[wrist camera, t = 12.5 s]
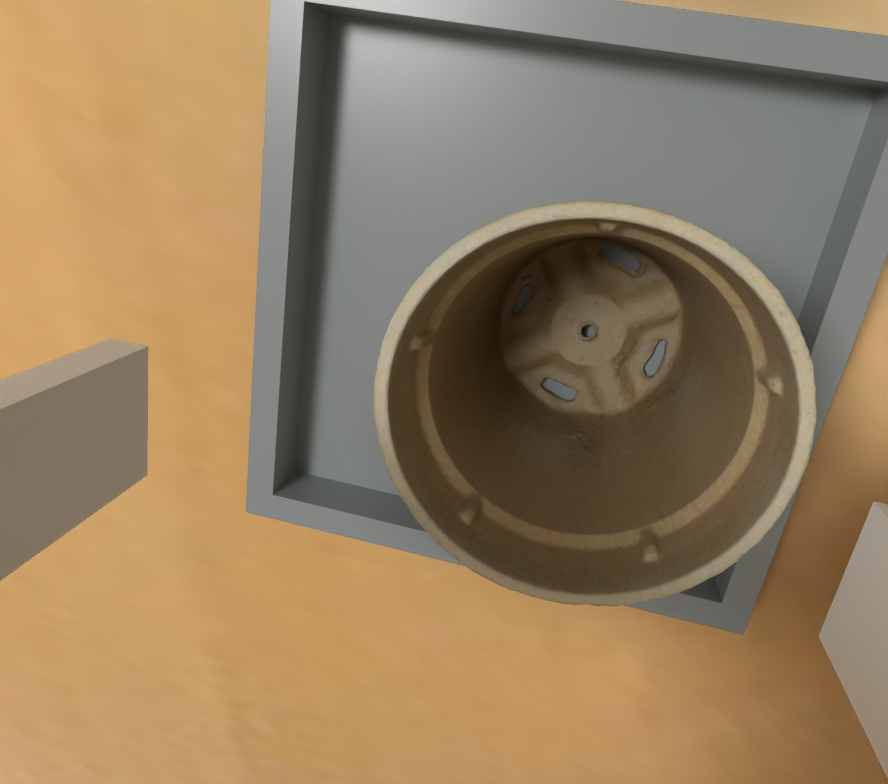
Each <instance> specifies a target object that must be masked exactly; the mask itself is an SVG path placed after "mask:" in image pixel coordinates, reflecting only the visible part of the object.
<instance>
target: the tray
mask: <svg viewBox="0 0 888 784" xmlns="http://www.w3.org/2000/svg"><path fill="white" fill-rule="evenodd" d="M574 201H605V202H618V203H625V204H631V205H636V206H641V207H646V208H650V209H654V210H658V211H663V212H666V213H669V214H671V215H674V216H677V217H679V218H682V219H684V220H687V221H689V222H691V223H694V224H696V225H698V226H700V227H702V228H703V229H705V230H707V231H709V232H711V233H712V234H714V235H716V236H717V237H719V238H720V239H722V240H723V241H725V242H727V243H728V244H730V245H731V246H733V247H734V248H736V249H737V250H738V251H739V252H740V253H742V254H743V255H744V256H745V257H747V258H748V259H749V260H750V261H751V262H752V263H753V264H754V265H755V266H756V267H757V268H759V269H760V270H761V271H762V273H763V274H764V275H765V276H766V277H767V278H768V279H769V280H770V281H771V282H772V284H773V285H774V286H775V288H776V289H777V290H779V292H780V293H781V295H782V297H783V298H784V300H785V302H786V304H787V305H788V307H789V309H790V310H791V312H792V313H793V315H794V317H795V319H796V321H797V323H798V325H799V326H800V329H801V333H802V335H803V337H804V339H805V342H806V345H807V347H808V350H809V356H810V359H811V361H812V364H813V372H814V380H815V385H816V411H817V413H816V425H815V431H814V439H813V444H812V449H811V453H810V457H809V460H808V464H809V461H810V458H811V456H812V453H813V450H814V448H815V445H816V442H817V440H818V437H819V435H820V432H821V429H822V427H823V424H824V421H825V419H826V416H827V413H828V411H829V408H830V405H831V403H832V400H833V398H834V395H835V392H836V390H837V387H838V384H839V382H840V379H841V376H842V374H843V371H844V369H845V366H846V363H847V361H848V358H849V355H850V353H851V350H852V347H853V345H854V342H855V340H856V337H857V334H858V332H859V329H860V326H861V324H862V321H863V318H864V316H865V313H866V310H867V308H868V305H869V303H870V300H871V297H872V295H873V292H874V289H875V287H876V284H877V281H878V279H879V276H880V274H881V271H882V268H883V266H884V263H885V260H886V258H887V255H888V36H885V35H878V34H870V33H862V32H854V31H847V30H839V29H831V28H824V27H816V26H808V25H800V24H793V23H785V22H777V21H770V20H762V19H754V18H746V17H739V16H731V15H723V14H715V13H708V12H700V11H692V10H685V9H677V8H669V7H661V6H654V5H646V4H638V3H631V2H623V1H615V0H271V3H270V24H269V45H268V65H267V86H266V106H265V127H264V148H263V168H262V189H261V210H260V230H259V251H258V272H257V292H256V313H255V334H254V354H253V375H252V395H251V416H250V437H249V457H248V478H247V499H246V512H248V513H252V514H256V515H260V516H264V517H268V518H272V519H276V520H280V521H284V522H288V523H292V524H296V525H300V526H305V527H309V528H313V529H317V530H321V531H325V532H329V533H333V534H337V535H341V536H345V537H349V538H353V539H357V540H361V541H365V542H369V543H373V544H378V545H382V546H386V547H390V548H394V549H398V550H402V551H406V552H410V553H414V554H418V555H422V556H426V557H430V558H434V559H438V560H442V561H447V562H451V563H455V564H459V565H463V566H465V565H464V564H462V563H460V562H459V561H458V560H457V559H456V558H455V557H453V556H451V555H450V554H449V553H448V552H446V551H445V550H444V549H443V548H442V547H441V546H440V545H438V544H437V543H436V542H435V541H434V540H433V539H432V537H431V536H430V535H429V534H428V533H427V532H426V531H425V530H424V529H423V527H422V526H421V525H420V524H419V523H418V522H417V520H416V519H415V517H414V516H413V515H412V514H411V513H410V511H409V509H408V507H407V506H406V505H405V503H404V502H403V500H402V498H401V497H400V495H399V494H398V492H397V490H396V488H395V486H394V484H393V482H392V481H391V477H390V475H389V472H388V469H387V466H386V464H385V463H384V460H383V456H382V453H381V450H380V446H379V442H378V436H377V429H376V427H375V417H374V406H373V399H374V383H375V375H376V371H377V362H378V359H379V356H380V349H381V347H382V342H383V340H384V337H385V334H386V332H387V330H388V327H389V324H390V321H391V319H392V317H393V315H394V314H395V312H396V310H397V309H398V307H399V305H400V303H401V302H402V300H403V298H404V297H405V295H406V294H407V292H408V291H409V289H410V288H411V287H412V286H413V285H414V283H415V282H416V280H417V279H418V278H419V277H420V276H421V275H422V274H423V273H424V271H425V270H426V269H427V268H428V267H429V266H430V265H431V264H432V263H433V262H434V261H435V260H436V259H437V258H438V257H439V256H441V255H442V254H443V253H444V252H445V251H446V250H447V249H449V248H450V247H451V246H452V245H454V244H455V243H457V242H459V241H460V240H461V239H463V238H464V237H466V236H467V235H469V234H471V233H472V232H474V231H476V230H477V229H479V228H481V227H483V226H485V225H487V224H489V223H491V222H493V221H495V220H497V219H499V218H502V217H504V216H507V215H510V214H513V213H516V212H519V211H522V210H526V209H529V208H532V207H537V206H542V205H547V204H554V203H564V202H574ZM601 255H602V258H604V259H608V260H610V261H613V262H616V263H618V264H620V265H623V266H625V267H627V268H630V269H632V270H633V271H636V270H637V269H638V268H639V266H640V263H639V260H638V259H637V258H636V257H635V256H634V255H633V254H632V253H630V252H626V251H624V250H622V249H620V248H615V247H606V248H604V249H603V250H602V253H601ZM531 289H532V285H527V286H525V287H524V288H523V289H522V291H521V292H520V295H519V297H518V300H517V302H516V304H515V308H514V310H513V313H514V314H521V311H522V309H523V308H524V305H526V303H528V304H530V301H529V300H528V296H529V294H530V291H531ZM594 333H595V330H594V327H593V326H592V325H585V326H584V327H583V328H582V335H583V336H584V337H591V336H593V335H594ZM665 344H666V341H665V340H660V341H658V343H657V344H656V346H655V348H654V351H653V353H652V355H651V357H650V358H649V359H648V360H647V362H646V363H645V365H644V366H643V371H644V374H645V375H646V376H651V375H653V374H654V373H655V372H656V370H657V369H658V366H659V364H660V362H661V360H662V357H663V355H664V351H665V349H664V347H665ZM541 385H542V386H543V387H544V388H545V390H548V391H551V392H552V393H553V394H555V395H556V396H558V397H559V398H561V399H564V400H571V399H573V398H574V397H575V393H576V390H575V389H574V388H573V389H571V388H570V387H567V386H565V385H563V384H561V383H559V382H556V381H554V380H552V379H549V378H546V379H544V381H543V382H542V383H541ZM808 464H807V466H808ZM807 466H806V469H807ZM806 469H805V471H806ZM805 471H804V474H805ZM804 474H803V476H802V478H801V481H800V483H799V484H798V486H797V488H796V491H795V493H794V495H793V496H792V498H791V500H790V501H789V503H788V505H787V507H786V508H785V510H784V512H783V513H782V515H781V516H780V517H779V519H778V520H777V521H776V522H775V523H774V525H773V527H772V528H771V529H770V530H769V531H768V532H767V533H766V534H765V535H764V537H763V538H762V540H761V541H760V542H759V543H758V544H756V545H755V546H754V547H752V548H751V549H749V550H748V551H747V552H746V553H745V555H743V556H742V557H741V558H739V560H738V561H737V562H735V563H734V564H733V565H731V566H730V567H728V568H727V569H726V570H724V571H723V572H721V573H720V574H718V575H716V576H713V577H711V578H709V579H707V580H705V581H704V582H702V583H700V584H698V585H696V586H694V587H692V588H690V589H686V590H684V591H682V592H680V593H676V594H673V595H671V596H667V597H664V598H659V599H656V600H649V601H647V602H642V603H638V604H632V605H625V606H629V607H633V608H637V609H641V610H645V611H649V612H653V613H657V614H662V615H666V616H670V617H674V618H678V619H682V620H686V621H690V622H694V623H698V624H702V625H706V626H710V627H714V628H718V629H722V630H726V631H731V632H735V633H739V634H743V635H744V632H745V630H746V627H747V625H748V622H749V619H750V617H751V614H752V611H753V609H754V606H755V603H756V601H757V598H758V595H759V593H760V590H761V588H762V585H763V582H764V580H765V577H766V574H767V572H768V569H769V566H770V564H771V561H772V559H773V556H774V553H775V551H776V548H777V545H778V543H779V540H780V537H781V535H782V532H783V530H784V527H785V524H786V522H787V519H788V516H789V514H790V511H791V508H792V506H793V503H794V500H795V498H796V495H797V493H798V490H799V487H800V485H801V482H802V479H803V477H804Z"/></svg>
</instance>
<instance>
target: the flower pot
mask: <svg viewBox="0 0 888 784" xmlns="http://www.w3.org/2000/svg"><path fill="white" fill-rule="evenodd" d="M606 247H615V248H620V249H622V250H624V251H626V252H630V253H632V254H633V255H634V256H635V257H636V258H637V259H638V260H639V263H640V266H639V268H638V269H637V270H636V271H633V270H632V269H630V268H627V267H625V266H623V265H620V264H618V263H616V262H613V261H610V260H608V259H604V258H602V255H601V253H602V250H603V249H604V248H606ZM527 285H532V289H531V291H530V294H529V296H528V300H529V301H530V304H528V303H526V305H524V308H523V309H522V311H521V314H514V313H513V310H514V308H515V304H516V302H517V300H518V297H519V295H520V292H521V291H522V289H523V288H524V287H525V286H527ZM585 325H592V326H593V327H594V330H595V333H594V335H593V336H591V337H584V336H583V335H582V328H583V327H584V326H585ZM660 340H665V341H666V344H665V347H664V349H665V351H664V355H663V357H662V360H661V362H660V364H659V366H658V369H657V370H656V372H655V373H654V374H653V375H651V376H646V375H645V374H644V371H643V366H644V365H645V363H646V362H647V360H648V359H649V358H650V357H651V355H652V353H653V351H654V348H655V346H656V344H657V343H658V341H660ZM546 378H549V379H552V380H554V381H556V382H559V383H561V384H563V385H565V386H567V387H570V388H571V389H573V388H574V389H575V390H576V393H575V397H574V398H573V399H571V400H564V399H561V398H559V397H558V396H556V395H555V394H553V393H552V392H551V391H548V390H545V388H544V387H543V386H542V385H541V383H542V382H543V381H544V379H546ZM373 406H374V417H375V427H376V429H377V436H378V442H379V446H380V450H381V453H382V456H383V460H384V463H385V464H386V466H387V469H388V472H389V475H390V477H391V481H392V482H393V484H394V486H395V488H396V490H397V492H398V494H399V495H400V497H401V498H402V500H403V502H404V503H405V505H406V506H407V507H408V509H409V511H410V513H411V514H412V515H413V516H414V517H415V519H416V520H417V522H418V523H419V524H420V525H421V526H422V527H423V529H424V530H425V531H426V532H427V533H428V534H429V535H430V536H431V537H432V539H433V540H434V541H435V542H436V543H437V544H438V545H440V546H441V547H442V548H443V549H444V550H445V551H446V552H448V553H449V554H450V555H451V556H453V557H455V558H456V559H457V560H458V561H459V562H460V563H462V564H464V565H465V566H467V567H468V568H469V569H471V570H472V571H473V572H475V573H477V574H479V575H481V576H482V577H484V578H487V579H488V580H490V581H492V582H494V583H497V584H499V585H501V586H503V587H506V588H508V589H511V590H514V591H518V592H520V593H523V594H526V595H529V596H532V597H536V598H540V599H544V600H548V601H553V602H557V603H563V604H574V605H578V604H589V605H595V606H619V605H632V604H638V603H642V602H647V601H649V600H656V599H659V598H664V597H667V596H671V595H673V594H676V593H680V592H682V591H684V590H686V589H690V588H692V587H694V586H696V585H698V584H700V583H702V582H704V581H705V580H707V579H709V578H711V577H713V576H716V575H718V574H720V573H721V572H723V571H724V570H726V569H727V568H728V567H730V566H731V565H733V564H734V563H735V562H737V561H738V560H739V558H741V557H742V556H743V555H745V553H746V552H747V551H748V550H749V549H751V548H752V547H754V546H755V545H756V544H758V543H759V542H760V541H761V540H762V538H763V537H764V535H765V534H766V533H767V532H768V531H769V530H770V529H771V528H772V527H773V525H774V523H775V522H776V521H777V520H778V519H779V517H780V516H781V515H782V513H783V512H784V510H785V508H786V507H787V505H788V503H789V501H790V500H791V498H792V496H793V495H794V493H795V491H796V488H797V486H798V484H799V483H800V481H801V478H802V476H803V474H804V471H805V469H806V466H807V464H808V460H809V457H810V453H811V449H812V444H813V439H814V431H815V425H816V413H817V411H816V385H815V380H814V372H813V364H812V361H811V359H810V356H809V350H808V347H807V345H806V342H805V339H804V337H803V335H802V333H801V329H800V326H799V325H798V323H797V321H796V319H795V317H794V315H793V313H792V312H791V310H790V309H789V307H788V305H787V304H786V302H785V300H784V298H783V297H782V295H781V293H780V292H779V290H777V289H776V288H775V286H774V285H773V284H772V282H771V281H770V280H769V279H768V278H767V277H766V276H765V275H764V274H763V273H762V271H761V270H760V269H759V268H757V267H756V266H755V265H754V264H753V263H752V262H751V261H750V260H749V259H748V258H747V257H745V256H744V255H743V254H742V253H740V252H739V251H738V250H737V249H736V248H734V247H733V246H731V245H730V244H728V243H727V242H725V241H723V240H722V239H720V238H719V237H717V236H716V235H714V234H712V233H711V232H709V231H707V230H705V229H703V228H702V227H700V226H698V225H696V224H694V223H691V222H689V221H687V220H684V219H682V218H679V217H677V216H674V215H671V214H669V213H666V212H663V211H658V210H654V209H650V208H646V207H641V206H636V205H631V204H625V203H618V202H605V201H574V202H564V203H554V204H547V205H542V206H537V207H532V208H529V209H526V210H522V211H519V212H516V213H513V214H510V215H507V216H504V217H502V218H499V219H497V220H495V221H493V222H491V223H489V224H487V225H485V226H483V227H481V228H479V229H477V230H476V231H474V232H472V233H471V234H469V235H467V236H466V237H464V238H463V239H461V240H460V241H459V242H457V243H455V244H454V245H452V246H451V247H450V248H449V249H447V250H446V251H445V252H444V253H443V254H442V255H441V256H439V257H438V258H437V259H436V260H435V261H434V262H433V263H432V264H431V265H430V266H429V267H428V268H427V269H426V270H425V271H424V273H423V274H422V275H421V276H420V277H419V278H418V279H417V280H416V282H415V283H414V285H413V286H412V287H411V288H410V289H409V291H408V292H407V294H406V295H405V297H404V298H403V300H402V302H401V303H400V305H399V307H398V309H397V310H396V312H395V314H394V315H393V317H392V319H391V321H390V324H389V327H388V330H387V332H386V334H385V337H384V340H383V342H382V347H381V349H380V356H379V359H378V362H377V371H376V375H375V383H374V399H373Z"/></svg>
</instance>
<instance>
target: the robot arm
mask: <svg viewBox="0 0 888 784" xmlns="http://www.w3.org/2000/svg"><path fill="white" fill-rule="evenodd" d="M147 440H148V346H144V345H140V344H135V343H130V342H126V341H121V340H116V339H112V338H111V339H109V340H106V341H103V342H101V343H98V344H95V345H93V346H90V347H87V348H85V349H82V350H79V351H77V352H74V353H71V354H69V355H66V356H63V357H61V358H58V359H56V360H53V361H50V362H48V363H45V364H42V365H40V366H37V367H34V368H32V369H29V370H26V371H24V372H21V373H18V374H16V375H13V376H10V377H8V378H5V379H2V380H0V581H1V580H2V579H3V578H5V577H6V576H8V575H9V574H10V573H12V572H13V571H15V570H16V569H17V568H19V567H20V566H22V565H23V564H24V563H26V562H27V561H28V560H30V559H31V558H33V557H34V556H35V555H37V554H38V553H40V552H41V551H42V550H44V549H45V548H47V547H48V546H49V545H51V544H52V543H54V542H55V541H56V540H58V539H59V538H60V537H62V536H63V535H65V534H66V533H67V532H69V531H70V530H72V529H73V528H74V527H76V526H77V525H79V524H80V523H81V522H83V521H84V520H86V519H87V518H88V517H90V516H91V515H92V514H94V513H95V512H97V511H98V510H99V509H101V508H102V507H104V506H105V505H106V504H108V503H109V502H111V501H112V500H113V499H115V498H116V497H118V496H119V495H120V494H122V493H123V492H124V491H126V490H127V489H129V488H130V487H131V486H133V485H134V484H136V483H137V482H138V481H140V480H141V479H143V478H144V477H145V476H147ZM818 637H819V639H820V641H821V643H822V645H823V647H824V649H825V651H826V653H827V655H828V657H829V659H830V661H831V663H832V665H833V667H834V669H835V671H836V674H837V676H838V678H839V680H840V682H841V684H842V686H843V688H844V690H845V692H846V694H847V696H848V698H849V700H850V702H851V704H852V706H853V709H854V711H855V713H856V715H857V717H858V719H859V721H860V723H861V725H862V727H863V729H864V731H865V733H866V735H867V737H868V739H869V741H870V744H871V746H872V748H873V750H874V752H875V754H876V756H877V758H878V760H879V762H880V764H881V766H882V768H883V770H884V772H885V774H886V776H887V778H888V504H884V503H879V502H873V504H872V507H871V509H870V512H869V514H868V517H867V519H866V521H865V524H864V526H863V529H862V531H861V534H860V536H859V538H858V541H857V543H856V546H855V548H854V551H853V553H852V555H851V558H850V560H849V563H848V565H847V568H846V570H845V573H844V575H843V577H842V580H841V582H840V585H839V587H838V590H837V592H836V594H835V597H834V599H833V602H832V604H831V607H830V609H829V612H828V614H827V616H826V619H825V621H824V624H823V626H822V629H821V631H820V633H819V636H818Z"/></svg>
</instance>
